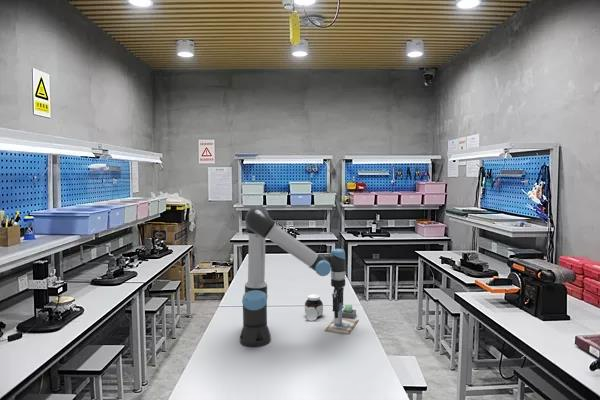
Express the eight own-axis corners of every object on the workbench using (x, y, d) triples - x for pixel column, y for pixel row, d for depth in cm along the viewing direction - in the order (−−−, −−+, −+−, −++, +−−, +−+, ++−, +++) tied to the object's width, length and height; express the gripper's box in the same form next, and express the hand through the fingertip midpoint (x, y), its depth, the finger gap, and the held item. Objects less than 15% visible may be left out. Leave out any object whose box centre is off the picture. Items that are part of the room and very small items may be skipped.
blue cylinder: (340, 325, 213) (340, 305, 212) (333, 324, 214) (333, 304, 213) (343, 322, 217) (343, 302, 216) (335, 321, 218) (335, 301, 217)
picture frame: (349, 334, 205) (349, 333, 205) (324, 331, 210) (324, 329, 210) (358, 320, 223) (358, 319, 223) (336, 317, 228) (336, 316, 228)
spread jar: (319, 312, 237) (319, 293, 236) (327, 319, 226) (327, 299, 225) (300, 315, 232) (299, 295, 231) (307, 322, 222) (307, 301, 221)
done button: (351, 314, 227) (351, 307, 227) (343, 313, 229) (343, 306, 229) (353, 312, 231) (353, 305, 231) (346, 311, 233) (345, 304, 232)
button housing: (353, 319, 226) (353, 314, 225) (340, 317, 228) (340, 312, 228) (356, 315, 232) (356, 309, 232) (344, 313, 235) (344, 308, 235)
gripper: (340, 283, 204) (340, 328, 206) (349, 275, 220) (349, 317, 222) (326, 282, 207) (326, 326, 209) (335, 273, 223) (335, 315, 225)
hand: (338, 321), depth 215 cm, fingers closed on blue cylinder, 4 cm apart
